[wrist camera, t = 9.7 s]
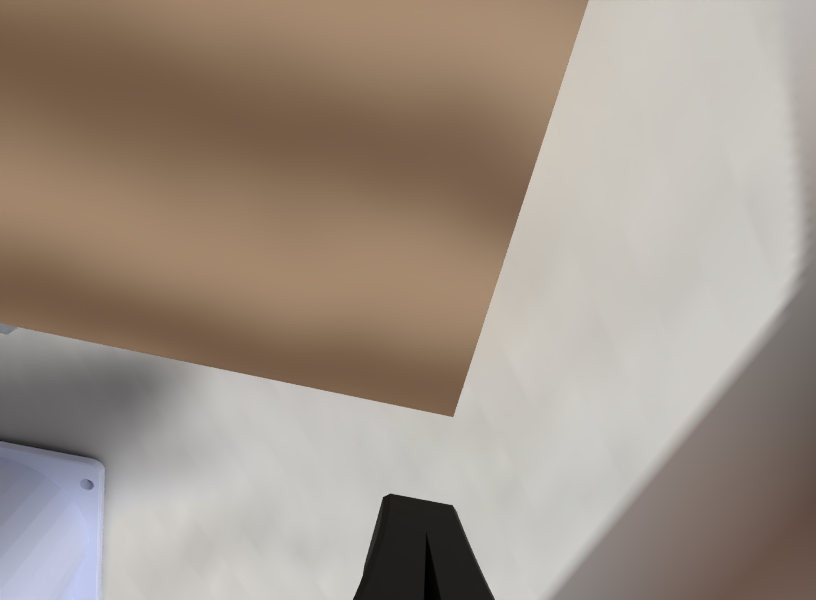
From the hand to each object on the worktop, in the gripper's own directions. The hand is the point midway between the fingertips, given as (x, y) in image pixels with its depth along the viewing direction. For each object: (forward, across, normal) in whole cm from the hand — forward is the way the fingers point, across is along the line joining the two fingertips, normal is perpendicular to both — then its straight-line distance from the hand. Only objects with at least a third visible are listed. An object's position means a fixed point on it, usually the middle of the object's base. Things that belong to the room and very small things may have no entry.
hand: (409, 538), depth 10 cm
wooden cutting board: (+9, +5, -6) cm, 12 cm away
